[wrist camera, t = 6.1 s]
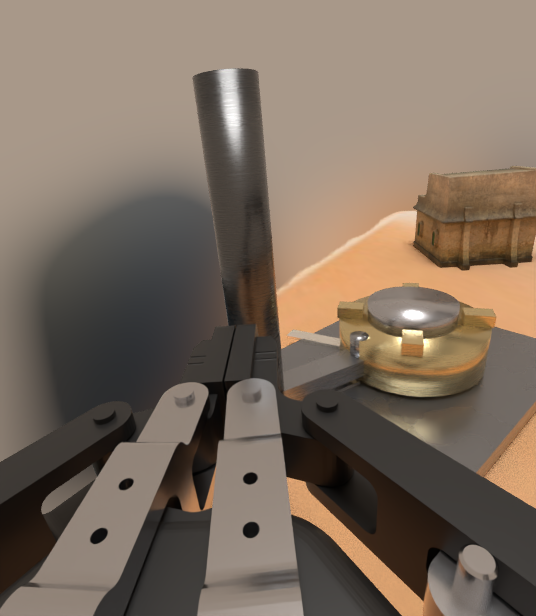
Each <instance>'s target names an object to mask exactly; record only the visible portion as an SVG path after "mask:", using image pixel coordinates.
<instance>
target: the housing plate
mask: <svg viewBox="0 0 536 616" xmlns="http://www.w3.org/2000/svg"><path fill="white" fill-rule="evenodd" d="M287 338H292V339H297V340H299V341H297V342H295V343H293V344H291V345H289V346H287V347H285V348H283V349H281V355H282V367H283V372H285V371H288V370H290V369H293V368H296V367H299V366H301V365H304V364H307V363H310V362H313V361H315V360H318V359H321V358H324V357H327V356H329V355H332V354H335V353H338V352H340V327H339V321H337V322H335V323H333V324H331V325H329V326H327V327H325V328H323V329H321V330H319V331H317V332H315V333H308V332H303V331H298V330H292V331H291V332H290V333H289V334H288V335H287ZM330 390H336V391H339V392H342V393H344V394H346V395H347V396H349V397H351V398H352V399H354V400H356V401H357V402H359V403H361V404H362V405H364V406H366V407H367V408H369V409H371V410H372V411H374V412H376V413H377V414H379V415H381V416H382V417H384V418H386V419H387V420H389V421H391V422H392V423H394V424H396V425H397V426H399V427H401V428H402V429H404V430H406V431H407V432H409V433H411V434H412V435H414V436H415V437H417V438H419V439H420V440H422V441H424V442H425V443H427V444H429V445H430V446H432V447H434V448H435V449H437V450H439V451H440V452H442V453H444V454H445V455H447V456H449V457H450V458H452V459H454V460H455V461H457V462H459V463H460V464H462V465H464V466H465V467H467V468H469V469H470V470H472V471H474V472H475V473H477V474H479V475H480V476H482V477H484V476H485V474H486V473H487V472H488V471H489V469H490V468H491V467H492V466H493V465H494V463H495V462H496V461H497V460H498V458H499V457H500V456H501V455H502V453H503V452H504V451H505V450H506V448H507V447H508V446H509V445H510V443H511V442H512V441H513V440H514V438H515V437H516V436H517V435H518V433H519V432H520V431H521V430H522V428H523V427H524V426H525V425H526V423H527V422H528V421H529V420H530V418H531V417H532V416H533V415H534V413H535V412H536V338H532V337H529V336H525V335H522V334H518V333H515V332H511V331H508V330H504V329H500V328H497V327H494V328H492V333H491V339H490V344H489V350H488V355H487V361H486V366H485V372H484V374H483V377H482V378H481V379H480V381H479V382H478V383H476V384H475V385H474V386H472V387H471V388H469V389H467V390H464V391H462V392H459V393H455V394H451V395H445V396H436V397H416V396H407V395H400V394H395V393H391V392H387V391H384V390H381V389H378V388H375V387H373V386H370V385H368V384H366V383H364V382H362V381H361V380H359V379H358V378H357V379H355V380H352V381H350V382H347V383H345V384H342V385H340V386H337V387H335V388H332V389H330Z"/></svg>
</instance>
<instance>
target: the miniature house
mask: <svg viewBox="0 0 536 616" xmlns="http://www.w3.org/2000/svg"><path fill="white" fill-rule="evenodd" d="M413 208H414V209H416V210H417V220H416V233H415V241H414V245H413V246H414V247H415V248H417V249H418V250H419V251H420V252H422V253H423V254H424V255H425V256H426V257H428V258H429V259H430V260H431V261H432V262H434V263H435V264H436V265H437V266H438V267H441V268H442V267H458V268H460V269H461V270H469V268H470V266H474V265H490V264H505V265H507V266H508V267H517V266H518V263H521V262H532V256H531V255H532V250H533V245H534V240H535V236H536V168H531V167H521V166H512V167H510V169H499V170H487V171H475V172H463V173H451V174H436V173H430V174H429V179H428V188H427V194H426V195H419V196H418V202H417V204H416V205H415V206H414V207H413Z"/></svg>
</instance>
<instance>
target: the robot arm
mask: <svg viewBox="0 0 536 616" xmlns="http://www.w3.org/2000/svg"><path fill="white" fill-rule="evenodd" d="M91 464H92V465H93V468H94V470H95V473H96V475H97V479H95V480H94V481H92V482H91V483H90V484H88V485H87V486H85V487H84V488H83V489H81V490H80V491H79V492H77V493H76V494H74V495H73V496H72V497H70V498H69V499H68V500H66V501H65V502H63V503H62V504H61V505H59V506H58V507H56V508H55V509H54V510H52V511H51V512H49V513H46V514H42V512H41V506H42V503H43V501H44V500H45V498H46V497H47V496H48V495H49V494H50V493H51V492H52V491H54V490H55V489H56V488H58V487H59V486H61V485H62V484H64V483H65V482H67V481H68V480H70V479H71V478H72V477H74V476H75V475H77V474H78V473H80V472H81V471H83V470H84V469H86V468H87V467H88V466H90V465H91ZM286 477H289V478H293V479H297V480H301V481H305V482H306V485H307V488H308V490H309V491H310V492H311V494H312V495H313V496H314V497H315V498H317V499H318V500H319V501H320V502H321V503H322V504H323V505H324V506H325V507H326V508H327V509H328V510H329V511H330V512H331V513H332V514H333V515H334V516H335V517H336V518H337V519H338V520H339V521H340V522H342V523H343V524H344V525H345V526H346V527H347V528H348V529H349V530H350V531H351V532H352V533H353V534H354V535H355V536H356V537H357V538H358V539H359V540H360V541H361V542H362V543H363V544H364V545H365V546H367V547H368V548H369V549H370V550H371V551H372V552H373V553H374V554H375V555H376V556H377V557H378V558H379V559H380V560H381V561H382V562H383V563H384V564H385V565H386V566H387V567H388V568H389V569H390V570H392V571H393V572H394V573H395V574H396V575H397V576H398V577H399V578H400V579H401V580H402V581H403V582H404V583H405V584H406V585H407V586H408V587H409V588H410V589H411V590H412V591H413V592H414V593H415V594H417V595H418V596H419V597H420V598H421V599H422V600H423V601H424V604H423V616H536V509H535V508H533V507H532V506H530V505H528V504H527V503H525V502H524V501H522V500H520V499H519V498H517V497H515V496H514V495H512V494H510V493H509V492H507V491H505V490H504V489H502V488H500V487H499V486H497V485H495V484H494V483H492V482H490V481H489V480H487V479H485V478H484V477H482V476H480V475H479V474H477V473H475V472H474V471H472V470H470V469H469V468H467V467H465V466H464V465H462V464H460V463H459V462H457V461H455V460H454V459H452V458H450V457H449V456H447V455H445V454H444V453H442V452H440V451H439V450H437V449H435V448H434V447H432V446H430V445H429V444H427V443H425V442H424V441H422V440H420V439H419V438H417V437H415V436H414V435H412V434H411V433H409V432H407V431H406V430H404V429H402V428H401V427H399V426H397V425H396V424H394V423H392V422H391V421H389V420H387V419H386V418H384V417H382V416H381V415H379V414H377V413H376V412H374V411H372V410H371V409H369V408H367V407H366V406H364V405H362V404H361V403H359V402H357V401H356V400H354V399H352V398H351V397H349V396H347V395H346V394H344V393H342V392H339V391H336V390H327V389H325V390H318V391H314V392H312V393H310V394H308V395H307V396H306V397H305V398H304V399H303V400H302V401H299V400H294V399H291V398H288V397H286V396H285V395H283V394H282V393H281V392H280V372H279V361H278V350H277V342H276V341H275V340H274V339H273V337H272V336H261V337H258V328H257V324H245V325H237V326H236V325H232V326H218V327H215V330H214V333H213V336H212V339H211V340H203V341H201V342H200V343H199V344H198V345H197V346H196V347H195V348H194V349H193V352H192V354H191V358H190V359H189V362H188V365H187V366H186V369H185V371H184V374H183V376H182V379H181V381H180V384H179V385H176V386H174V387H172V388H170V389H169V390H167V391H166V392H165V393H164V394H163V396H162V397H161V399H160V401H159V403H158V404H157V406H156V407H155V408H152V409H148V410H145V411H141V412H137V413H134V414H133V413H132V410H131V407H130V405H129V404H127V403H125V402H121V401H114V402H109V403H104V404H101V405H99V406H97V407H95V408H93V409H91V410H90V411H88V412H86V413H84V414H83V415H81V416H79V417H78V418H76V419H74V420H72V421H70V422H69V423H67V424H65V425H64V426H62V427H60V428H58V429H57V430H55V431H53V432H51V433H50V434H48V435H47V436H45V437H43V438H41V439H39V440H38V441H36V442H34V443H33V444H31V445H29V446H27V447H26V448H24V449H22V450H20V451H19V452H17V453H15V454H14V455H12V456H10V457H8V458H7V459H5V460H3V461H1V462H0V616H402V615H401V614H400V613H399V612H398V611H397V610H396V609H395V608H394V607H393V605H392V604H391V603H390V602H389V601H388V600H387V599H386V598H385V597H384V595H383V594H382V593H381V592H380V591H379V590H378V589H377V588H376V587H375V586H374V584H373V583H372V582H371V581H370V580H369V579H368V578H367V577H366V576H365V574H364V573H363V572H362V571H361V570H360V569H359V568H358V567H357V566H356V565H355V563H354V562H353V561H352V560H351V559H350V558H349V557H348V556H347V555H346V553H345V552H344V551H343V550H342V549H341V548H340V547H339V546H338V545H337V544H336V542H335V541H334V540H333V539H332V538H331V537H330V536H328V535H327V534H326V533H325V532H324V531H322V530H321V529H320V528H318V527H317V526H315V525H313V524H312V523H310V522H308V521H306V520H304V519H302V518H300V517H297V516H294V515H291V511H290V503H289V494H288V486H287V478H286ZM212 501H213V505H212ZM211 505H212V508H211Z"/></svg>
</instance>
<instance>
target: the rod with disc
mask: <svg viewBox="0 0 536 616" xmlns="http://www.w3.org/2000/svg"><path fill="white" fill-rule="evenodd" d="M193 84H194V92H195V98H196V105H197V112H198V119H199V126H200V133H201V140H202V146H203V154H204V161H205V167H206V174H207V181H208V188H209V195H210V201H211V209H212V216H213V222H214V228H215V236H216V242H217V250H218V257H219V264H220V270H221V278H222V284H223V291H224V297H225V305H226V312H227V319H228V326H232V325H236V326H237V325H245V324H257V328H258V337H261V336H272V337H273V339H274V340H275V341H276V342H277V350H278V361H279V372H280V392H281V393H282V394H283V395H285V396H286V397H288V398H291V399H294V400H299V401H302V400H303V399H304V398H305V397H306V396H307V395H308V394H310V393H312V392H314V391H318V390H325V389H327V390H330V389H332V388H335V387H337V386H340V385H342V384H345V383H347V382H350V381H352V380H355V379H357V378H358V379H359V380H361V381H362V382H364V383H366V384H368V385H370V386H373V387H375V388H378V389H381V390H384V391H387V392H391V393H395V394H400V395H407V396H416V397H436V396H445V395H451V394H455V393H459V392H462V391H464V390H467V389H469V388H471V387H472V386H474V385H475V384H476V383H478V382H479V381H480V379H481V378H482V377H483V374H484V372H485V366H486V361H487V355H488V350H489V344H490V339H491V333H492V328H494V326H495V321H496V315H495V313H494V311H493V309H481V308H473V307H471V306H469V305H467V304H464V303H462V302H459V301H457V299H455V298H454V297H452V296H451V295H449V294H447V293H444V292H441V291H438V290H434V289H429V288H422V287H419V285H418V283H403V287H393V288H387V289H383V290H380V291H377V292H375V293H373V294H372V295H371V296H368V297H364V298H361V299H358V300H356V301H354V302H340V303H339V305H338V318H339V327H340V352H338V353H335V354H332V355H329V356H327V357H324V358H321V359H318V360H315V361H313V362H310V363H307V364H304V365H301V366H299V367H296V368H293V369H290V370H288V371H285V372H283V367H282V355H281V343H280V331H279V319H278V307H277V294H276V283H275V270H274V258H273V246H272V235H271V222H270V210H269V198H268V186H267V174H266V162H265V149H264V139H263V138H264V137H263V125H262V114H261V101H260V89H259V78H258V72H257V71H256V70H252V69H221V70H213V71H208V72H203V73H200V74H197V75H195V76H193Z"/></svg>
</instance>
